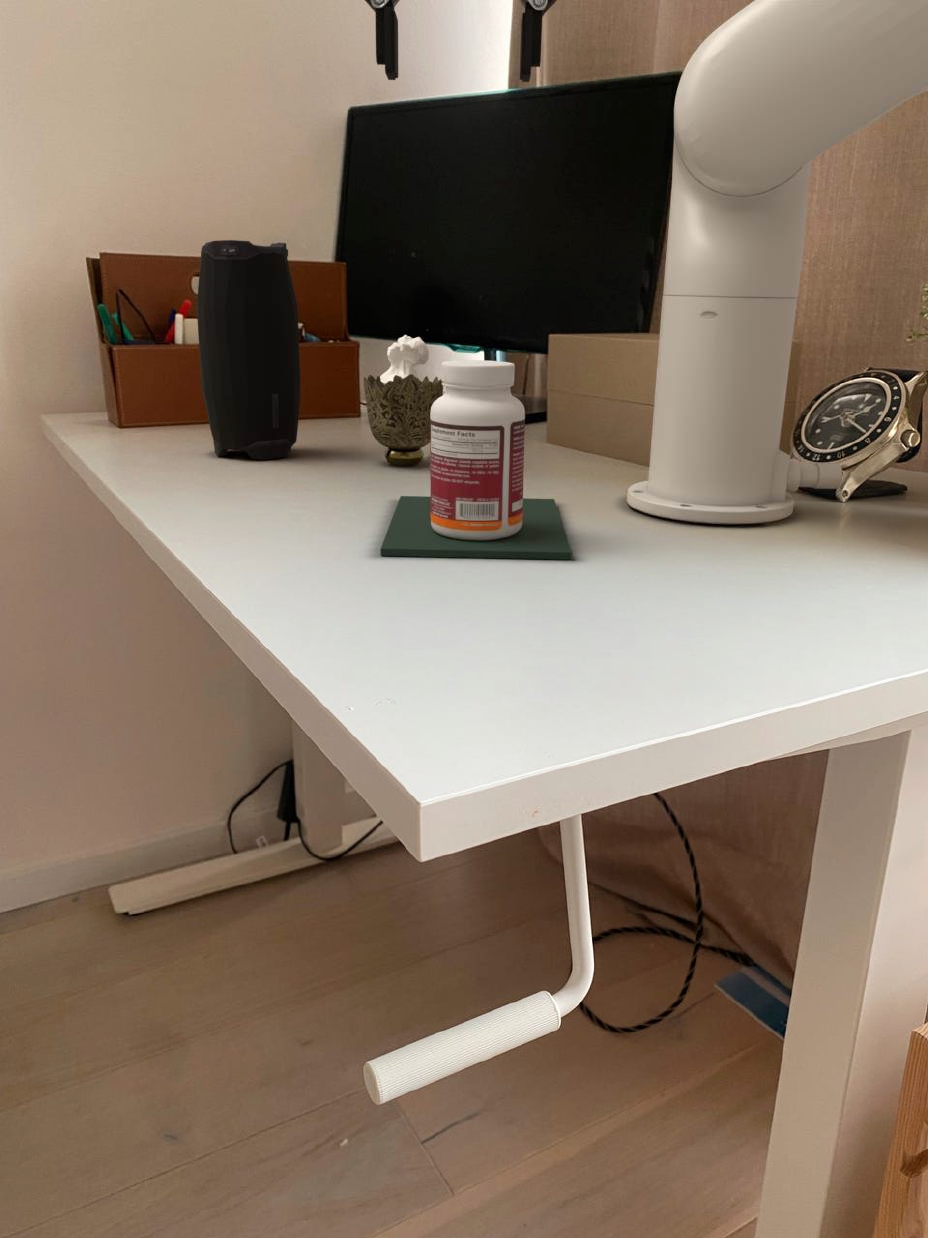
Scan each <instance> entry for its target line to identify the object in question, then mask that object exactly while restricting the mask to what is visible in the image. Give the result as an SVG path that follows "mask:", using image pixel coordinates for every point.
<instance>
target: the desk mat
mask: <svg viewBox="0 0 928 1238" xmlns="http://www.w3.org/2000/svg"><path fill="white" fill-rule="evenodd" d="M379 550H380V551H379V552H380V554H379V555H380V557H418V558H419V557H424V558H465V559H466V558H470V559H471V558H473V559H474V558H475V559H514V560H515V559H518V560H519V559H521V560H572V559H573V557H572V555H573V552H572V550H571V546H570V543H569V541H568V537H567V534H566V531H565V528H564V525H563V521H562V518H561V516H560V512H559V510H558V507H557V504H556V501H555V499H554V498H524V497H523V518H522V527H521V529H520V530H519V531H518V532H517V533H516V534H514V535H511V536H509V537H505V538H501V539H495V540H485V541H476V540H462V539H455V538H450V537H446V536H443V535H440V534H438V533H436V532H435V531H434V530H433V528H432V525H431V496H419V495H418V496H417V495H410V496H409V495H400V496H399V499H398V502H397V505H396V507H395V510H394V512H393V515H392V517H391V520H390V523H389V526H388V528H387V531H386V534H385V536H384V539H383V541H382V543H381V547H380V549H379Z"/></svg>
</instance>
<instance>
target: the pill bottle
mask: <svg viewBox="0 0 928 1238" xmlns="http://www.w3.org/2000/svg"><path fill="white" fill-rule="evenodd" d="M515 367H516V365H515V363H514V362H508V361H502V360H500V361H499V360H485V359H484V360H483V359H482V360H480V359H478V360H477V359H461V360H459V359H458V360H447V361H443V362H441V375H440V379H441V381H442V385H444V387H445V390H444V393H443V395H442V396H441V397H439V398H438V399H437V400H436V401H435V402H434V403H433V405H432V407H431V412H430V443H429V444H430V445H429V446H430V447H429V448H430V450H429V451H430V452H429V453H430V457H429V458H430V479H429V480H430V497H431V525H432V528H433V530H434V531H435V532H436V533H438V534H440V535H443V536H446V537H450V538H455V539H462V540H476V541H485V540H495V539H501V538H505V537H509V536H511V535H514V534H516V533H517V532H518V531H519V530H520V529H521V527H522V518H523V498H524V469H525V466H524V465H525V435H526V434H525V433H526V432H525V430H526V428H525V427H526V410H525V406H524V404H523V403H522V401H521V400H520V399H519V398H517V397H516V396H513V395H512V391H511V387H514V386H515V371H516V370H515V369H516V368H515Z"/></svg>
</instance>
